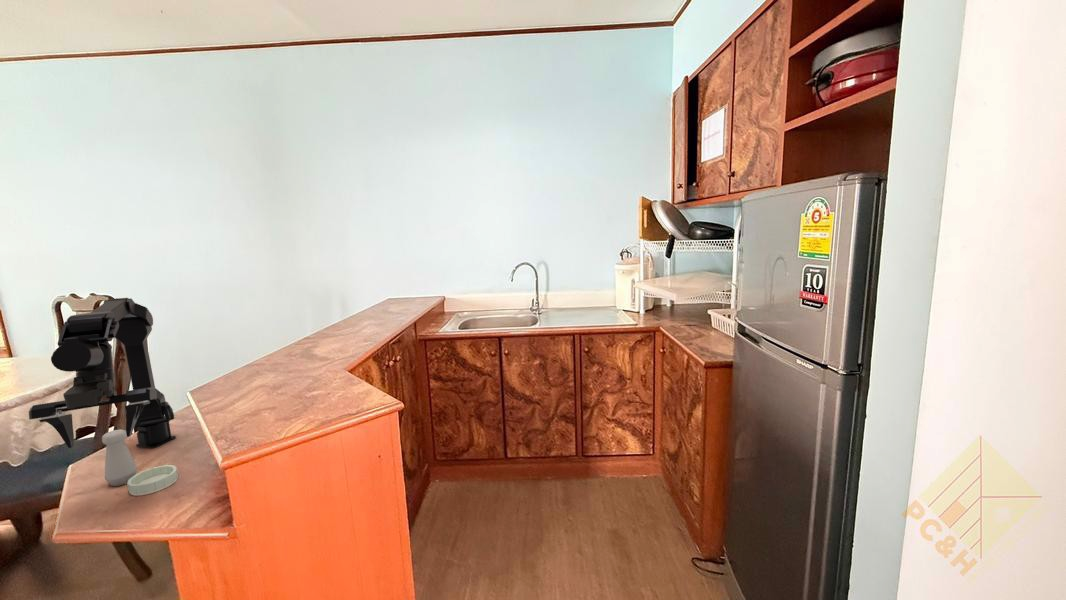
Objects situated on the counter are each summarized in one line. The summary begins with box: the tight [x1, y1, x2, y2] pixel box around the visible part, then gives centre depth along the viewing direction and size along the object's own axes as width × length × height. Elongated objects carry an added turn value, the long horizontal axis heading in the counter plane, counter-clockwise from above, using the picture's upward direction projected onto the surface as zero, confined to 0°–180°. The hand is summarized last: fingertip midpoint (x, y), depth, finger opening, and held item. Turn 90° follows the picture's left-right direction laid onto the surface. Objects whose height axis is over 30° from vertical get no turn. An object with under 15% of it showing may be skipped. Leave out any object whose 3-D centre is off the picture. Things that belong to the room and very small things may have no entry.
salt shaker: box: [101, 429, 138, 487], centre depth 102 cm, size 6×6×13 cm
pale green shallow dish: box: [126, 464, 179, 497], centre depth 101 cm, size 9×9×2 cm
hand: (100, 441), depth 91 cm, fingers open, 9 cm apart
